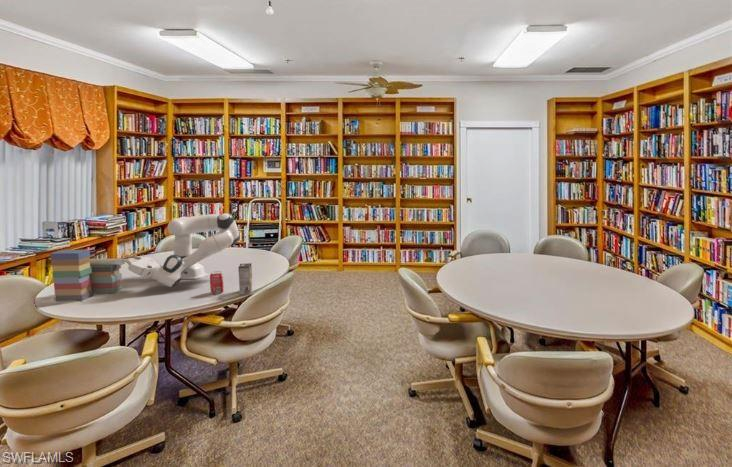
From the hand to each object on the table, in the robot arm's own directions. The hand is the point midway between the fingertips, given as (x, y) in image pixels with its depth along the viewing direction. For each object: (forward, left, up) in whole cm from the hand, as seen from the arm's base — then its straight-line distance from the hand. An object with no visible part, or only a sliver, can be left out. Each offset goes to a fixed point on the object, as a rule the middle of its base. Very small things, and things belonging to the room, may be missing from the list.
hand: (129, 258), depth 232 cm
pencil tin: (+15, +5, -4) cm, 16 cm away
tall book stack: (+19, +19, -20) cm, 33 cm away
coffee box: (-64, -17, -20) cm, 69 cm away
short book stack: (+15, +5, -20) cm, 25 cm away
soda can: (-49, -11, -20) cm, 54 cm away
